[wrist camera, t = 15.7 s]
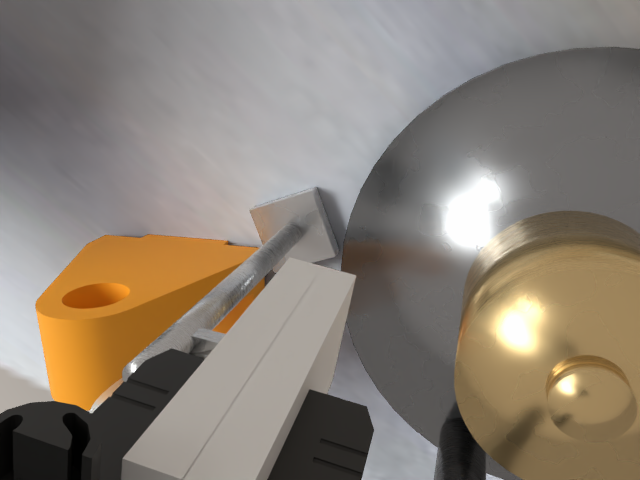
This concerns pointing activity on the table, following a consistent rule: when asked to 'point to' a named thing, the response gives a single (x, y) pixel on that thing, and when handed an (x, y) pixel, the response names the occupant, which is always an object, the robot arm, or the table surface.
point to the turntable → (479, 216)
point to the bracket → (126, 305)
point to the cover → (554, 348)
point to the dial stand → (246, 275)
